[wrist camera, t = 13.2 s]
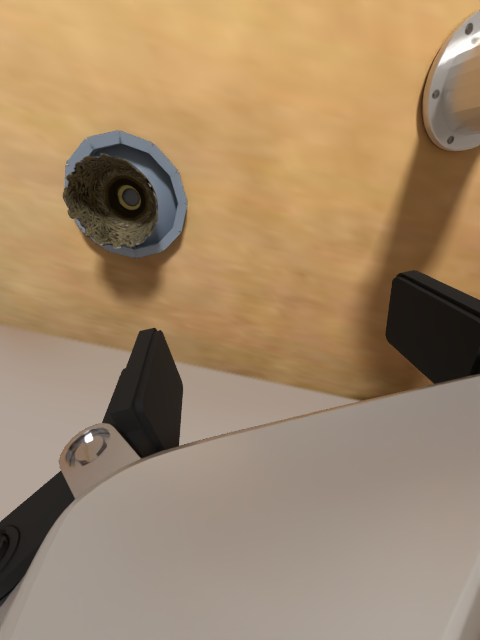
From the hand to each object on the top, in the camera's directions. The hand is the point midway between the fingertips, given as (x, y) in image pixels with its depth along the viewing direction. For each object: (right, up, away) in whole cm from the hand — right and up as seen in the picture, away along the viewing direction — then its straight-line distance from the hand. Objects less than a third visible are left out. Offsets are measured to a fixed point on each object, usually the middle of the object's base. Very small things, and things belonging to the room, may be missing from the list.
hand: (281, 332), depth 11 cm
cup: (-14, +14, +19) cm, 27 cm away
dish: (-14, +14, +19) cm, 28 cm away
